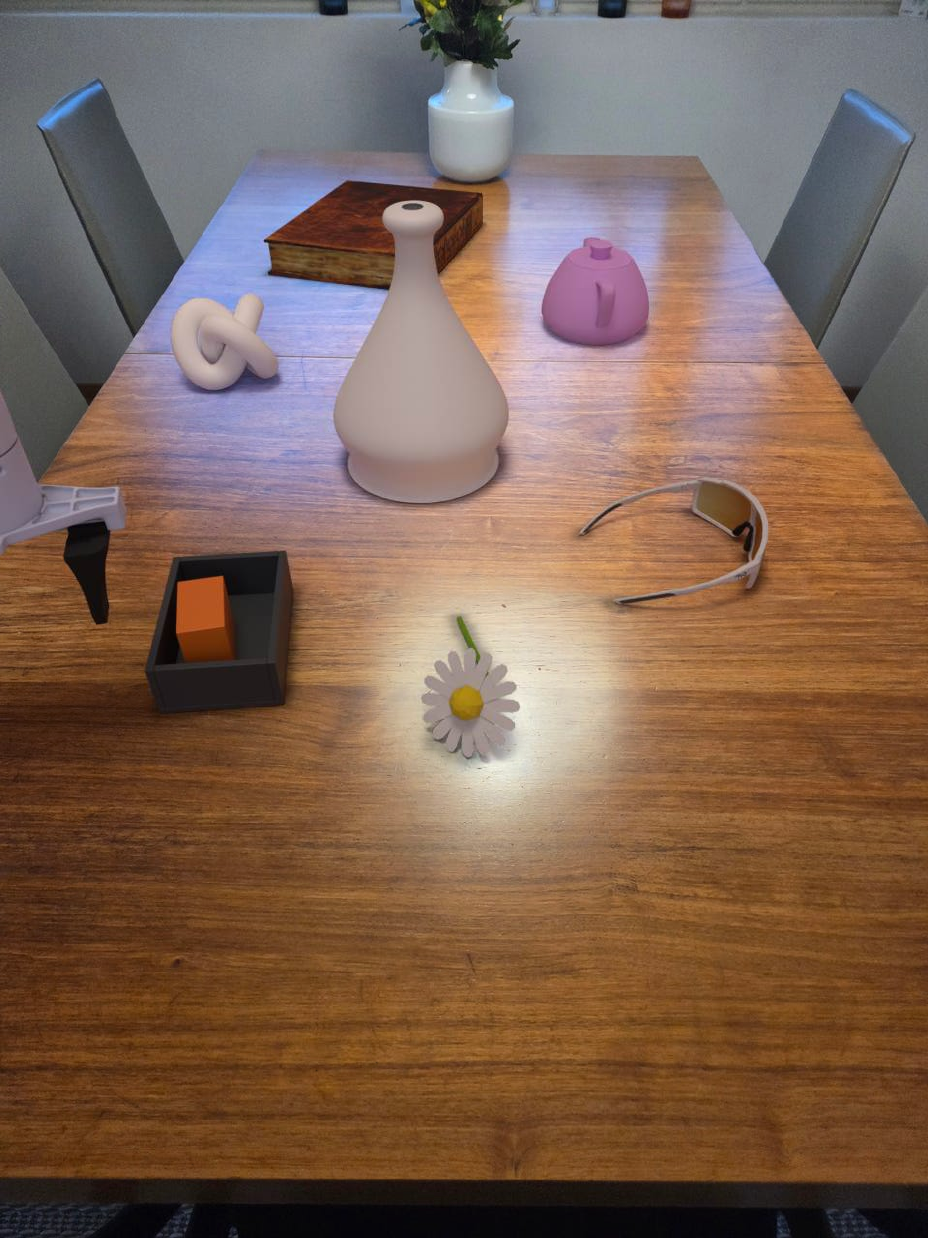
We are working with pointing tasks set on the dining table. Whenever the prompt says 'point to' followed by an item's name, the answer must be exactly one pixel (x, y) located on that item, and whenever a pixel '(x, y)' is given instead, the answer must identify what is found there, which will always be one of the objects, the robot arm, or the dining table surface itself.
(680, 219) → the dining table surface
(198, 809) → the dining table surface
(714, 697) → the dining table surface
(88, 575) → the robot arm
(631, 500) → the sunglasses
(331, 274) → the book
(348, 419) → the vase
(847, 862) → the dining table surface
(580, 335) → the teapot
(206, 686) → the open box
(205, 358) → the beige knot sculpture
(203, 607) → the block
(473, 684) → the decorative flower
